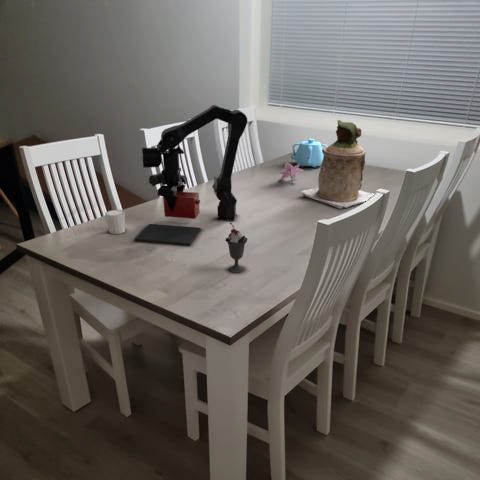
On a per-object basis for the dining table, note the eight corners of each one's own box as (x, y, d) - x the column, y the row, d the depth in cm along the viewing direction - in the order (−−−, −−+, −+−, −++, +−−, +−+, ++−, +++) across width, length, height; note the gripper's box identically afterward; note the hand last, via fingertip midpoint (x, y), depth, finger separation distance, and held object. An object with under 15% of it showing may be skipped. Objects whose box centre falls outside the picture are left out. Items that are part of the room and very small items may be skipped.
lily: (307, 183, 233) (303, 163, 232) (302, 179, 222) (298, 159, 221) (283, 189, 237) (280, 169, 236) (277, 186, 226) (274, 165, 225)
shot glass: (130, 229, 178) (128, 210, 174) (120, 235, 172) (118, 216, 168) (114, 226, 180) (111, 208, 176) (104, 233, 174) (101, 214, 170)
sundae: (224, 265, 152) (224, 220, 144) (245, 264, 152) (246, 219, 144) (226, 274, 146) (225, 228, 138) (247, 273, 147) (248, 227, 139)
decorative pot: (305, 170, 250) (307, 143, 242) (288, 163, 262) (289, 137, 254) (329, 167, 256) (332, 140, 249) (312, 160, 268) (314, 134, 261)
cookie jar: (342, 210, 197) (352, 128, 180) (298, 196, 213) (304, 119, 196) (377, 198, 211) (390, 121, 194) (334, 186, 226) (342, 113, 209)
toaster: (202, 213, 185) (201, 192, 180) (197, 219, 179) (196, 197, 175) (169, 210, 186) (168, 190, 182) (164, 216, 181) (162, 195, 177)
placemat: (201, 230, 177) (200, 227, 177) (190, 245, 165) (190, 243, 164) (149, 226, 180) (149, 223, 180) (135, 241, 168) (134, 238, 167)
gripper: (158, 159, 183) (161, 198, 191) (141, 171, 167) (145, 214, 175) (186, 160, 181) (188, 200, 189) (172, 173, 165) (175, 216, 174)
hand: (174, 207), depth 182 cm, fingers closed on toaster, 6 cm apart
